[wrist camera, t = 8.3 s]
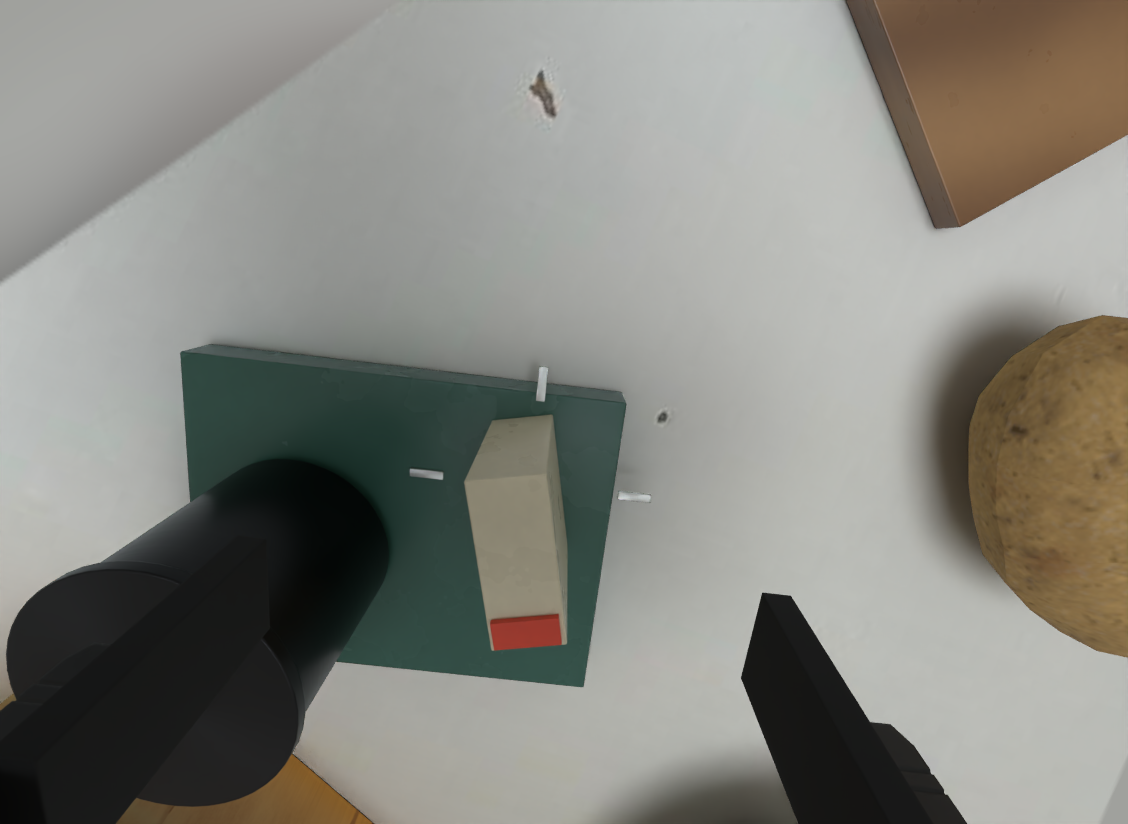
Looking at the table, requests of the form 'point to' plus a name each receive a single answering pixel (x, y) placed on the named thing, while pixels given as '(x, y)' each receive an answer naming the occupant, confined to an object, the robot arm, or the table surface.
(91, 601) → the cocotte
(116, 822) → the robot arm
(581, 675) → the green rectangular slab
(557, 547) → the cream juice carton
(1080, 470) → the potato
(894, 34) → the board
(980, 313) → the table surface
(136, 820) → the bread
